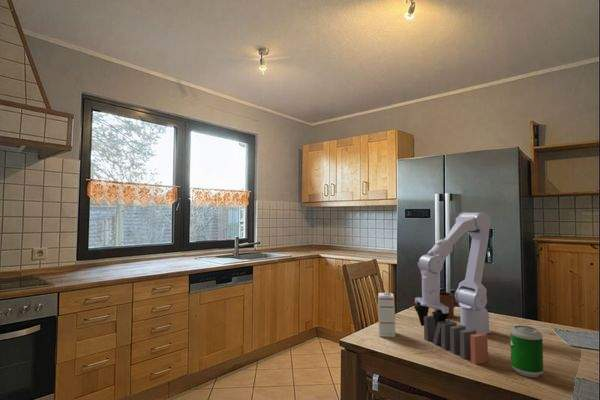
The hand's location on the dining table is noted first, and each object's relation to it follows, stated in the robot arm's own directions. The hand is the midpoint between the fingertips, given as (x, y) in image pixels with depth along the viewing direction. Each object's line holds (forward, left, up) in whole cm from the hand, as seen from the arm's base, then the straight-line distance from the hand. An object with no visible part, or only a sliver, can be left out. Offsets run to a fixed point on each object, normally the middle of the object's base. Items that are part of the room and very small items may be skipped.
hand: (431, 328), depth 124 cm
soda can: (-6, +30, -4) cm, 31 cm away
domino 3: (0, +8, -4) cm, 9 cm away
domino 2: (0, +4, -3) cm, 5 cm away
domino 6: (0, +20, -4) cm, 20 cm away
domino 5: (0, +16, -4) cm, 16 cm away
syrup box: (+12, -10, -4) cm, 16 cm away
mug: (-26, -18, -4) cm, 31 cm away
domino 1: (0, 0, -4) cm, 4 cm away
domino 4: (0, +12, -4) cm, 13 cm away
